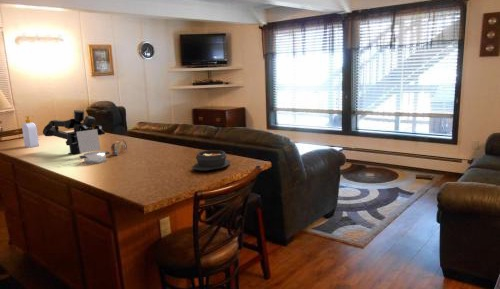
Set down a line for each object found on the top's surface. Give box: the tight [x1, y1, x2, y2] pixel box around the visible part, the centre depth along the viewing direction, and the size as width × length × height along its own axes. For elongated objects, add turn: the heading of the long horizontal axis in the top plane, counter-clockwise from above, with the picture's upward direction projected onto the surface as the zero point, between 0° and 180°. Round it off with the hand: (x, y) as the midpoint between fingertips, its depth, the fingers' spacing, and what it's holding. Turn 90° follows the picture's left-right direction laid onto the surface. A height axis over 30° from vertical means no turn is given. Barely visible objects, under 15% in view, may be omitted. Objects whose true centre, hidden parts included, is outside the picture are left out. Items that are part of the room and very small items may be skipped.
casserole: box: [191, 149, 232, 172], centre depth 205 cm, size 25×19×8 cm
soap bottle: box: [21, 115, 40, 148], centre depth 280 cm, size 9×7×23 cm
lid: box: [76, 128, 102, 154], centre depth 231 cm, size 13×12×3 cm
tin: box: [110, 139, 128, 156], centre depth 247 cm, size 15×3×8 cm, turn 168°
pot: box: [79, 150, 110, 165], centre depth 226 cm, size 12×17×5 cm
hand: (98, 133), depth 238 cm, fingers open, 9 cm apart
